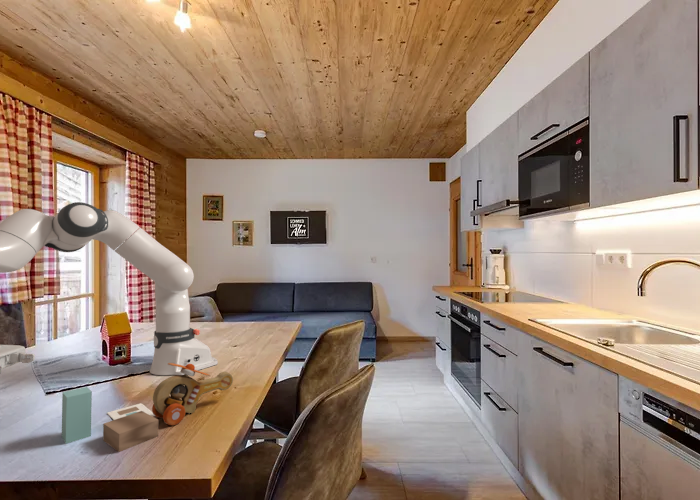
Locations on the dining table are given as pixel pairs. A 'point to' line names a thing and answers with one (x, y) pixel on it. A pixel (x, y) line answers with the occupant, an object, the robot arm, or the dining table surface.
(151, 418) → the walnut base block
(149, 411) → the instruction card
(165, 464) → the dining table surface
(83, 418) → the teal tall block
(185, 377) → the toy helicopter
